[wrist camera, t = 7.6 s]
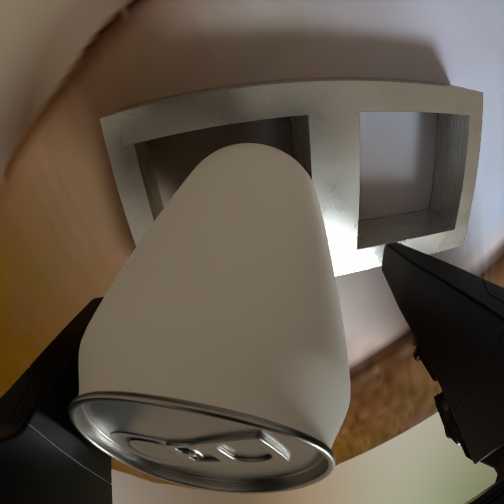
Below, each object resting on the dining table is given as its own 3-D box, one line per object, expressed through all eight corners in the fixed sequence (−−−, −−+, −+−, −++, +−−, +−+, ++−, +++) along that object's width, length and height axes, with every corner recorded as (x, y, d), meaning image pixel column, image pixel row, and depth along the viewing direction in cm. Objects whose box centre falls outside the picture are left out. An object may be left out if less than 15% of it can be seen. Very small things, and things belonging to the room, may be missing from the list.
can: (162, 177, 15) (5, 385, 5) (283, 116, 13) (279, 344, 3) (226, 274, 18) (174, 492, 8) (336, 234, 16) (379, 482, 6)
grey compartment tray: (451, 85, 15) (483, 92, 12) (438, 225, 21) (462, 245, 18) (116, 110, 14) (99, 118, 11) (163, 277, 19) (159, 309, 17)
